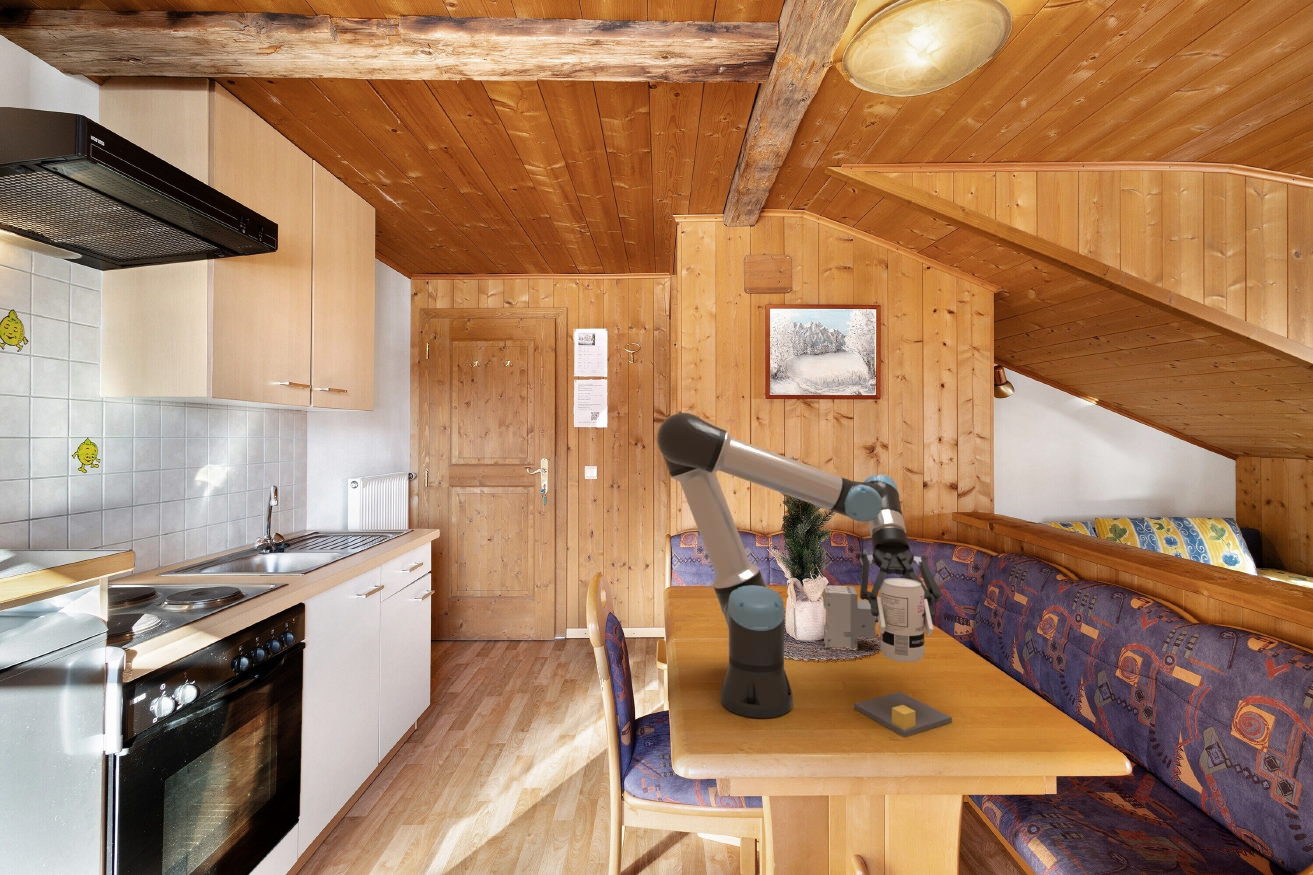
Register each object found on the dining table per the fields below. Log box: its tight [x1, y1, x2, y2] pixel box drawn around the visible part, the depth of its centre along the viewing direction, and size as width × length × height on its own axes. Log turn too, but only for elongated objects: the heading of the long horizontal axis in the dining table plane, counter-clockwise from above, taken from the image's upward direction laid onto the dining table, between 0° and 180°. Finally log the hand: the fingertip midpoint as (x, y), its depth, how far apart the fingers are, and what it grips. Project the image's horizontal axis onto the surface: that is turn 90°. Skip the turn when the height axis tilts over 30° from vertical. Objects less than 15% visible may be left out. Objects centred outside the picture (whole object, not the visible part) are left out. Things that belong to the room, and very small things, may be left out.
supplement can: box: [879, 577, 925, 663], centre depth 122 cm, size 8×8×15 cm
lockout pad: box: [853, 691, 953, 738], centre depth 122 cm, size 13×13×4 cm
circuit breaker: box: [822, 585, 878, 649], centre depth 161 cm, size 8×14×15 cm, turn 78°
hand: (906, 631), depth 119 cm, fingers closed on supplement can, 8 cm apart
